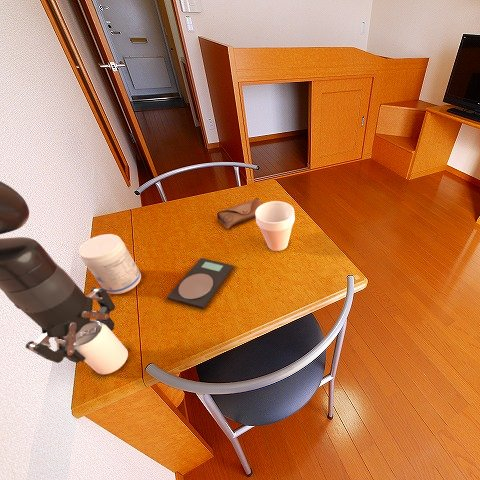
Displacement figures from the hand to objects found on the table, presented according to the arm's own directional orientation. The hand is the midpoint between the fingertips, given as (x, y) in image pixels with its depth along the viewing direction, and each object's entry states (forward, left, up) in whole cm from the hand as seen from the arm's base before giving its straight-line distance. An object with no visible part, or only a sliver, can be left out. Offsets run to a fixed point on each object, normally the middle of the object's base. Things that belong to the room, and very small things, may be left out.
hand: (96, 343), depth 57 cm
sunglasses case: (+60, -2, -8) cm, 60 cm away
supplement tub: (+19, +16, -8) cm, 26 cm away
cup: (+48, -20, -8) cm, 53 cm away
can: (0, 0, -8) cm, 8 cm away
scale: (+26, -6, -8) cm, 28 cm away
